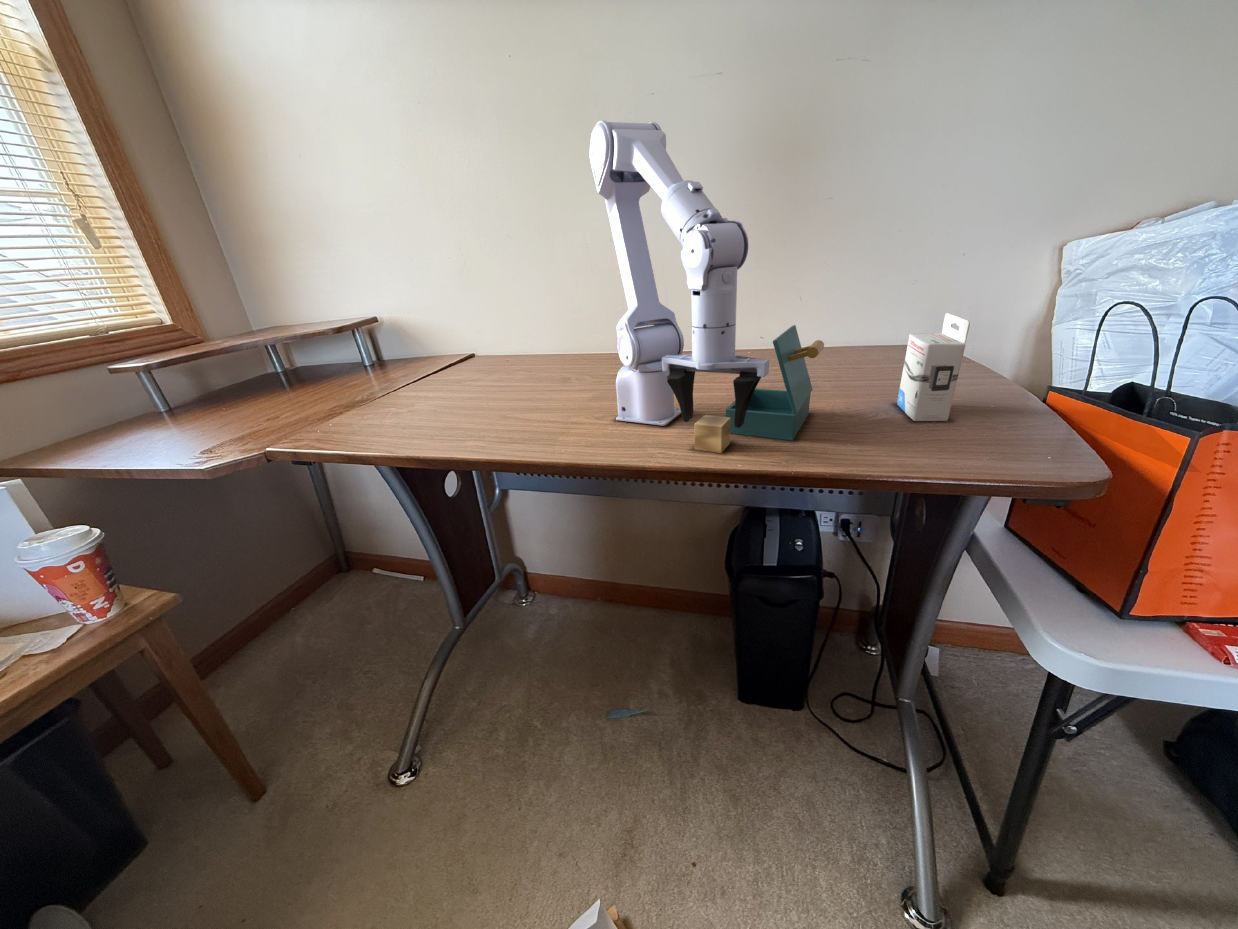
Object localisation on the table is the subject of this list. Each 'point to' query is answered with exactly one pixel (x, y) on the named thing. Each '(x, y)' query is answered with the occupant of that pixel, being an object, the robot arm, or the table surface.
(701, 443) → the block
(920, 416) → the ink box
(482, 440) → the table surface
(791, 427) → the chest
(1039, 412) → the table surface
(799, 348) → the chest lid
